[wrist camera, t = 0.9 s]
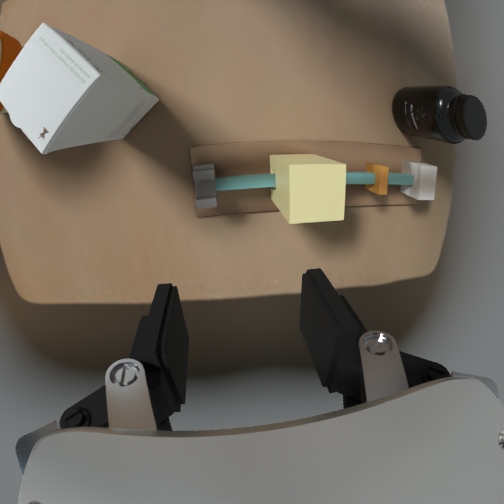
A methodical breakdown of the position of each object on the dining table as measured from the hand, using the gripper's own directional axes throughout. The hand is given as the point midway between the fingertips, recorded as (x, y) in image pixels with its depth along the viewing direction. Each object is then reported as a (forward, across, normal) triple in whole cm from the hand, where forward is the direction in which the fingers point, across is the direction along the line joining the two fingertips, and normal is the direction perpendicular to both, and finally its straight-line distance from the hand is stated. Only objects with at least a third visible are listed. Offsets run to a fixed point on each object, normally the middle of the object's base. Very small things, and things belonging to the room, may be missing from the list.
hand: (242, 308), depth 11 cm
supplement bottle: (+22, -24, -10) cm, 34 cm away
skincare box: (+22, +12, -12) cm, 28 cm away
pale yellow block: (+21, -8, -2) cm, 23 cm away
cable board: (+21, -12, -2) cm, 24 cm away
